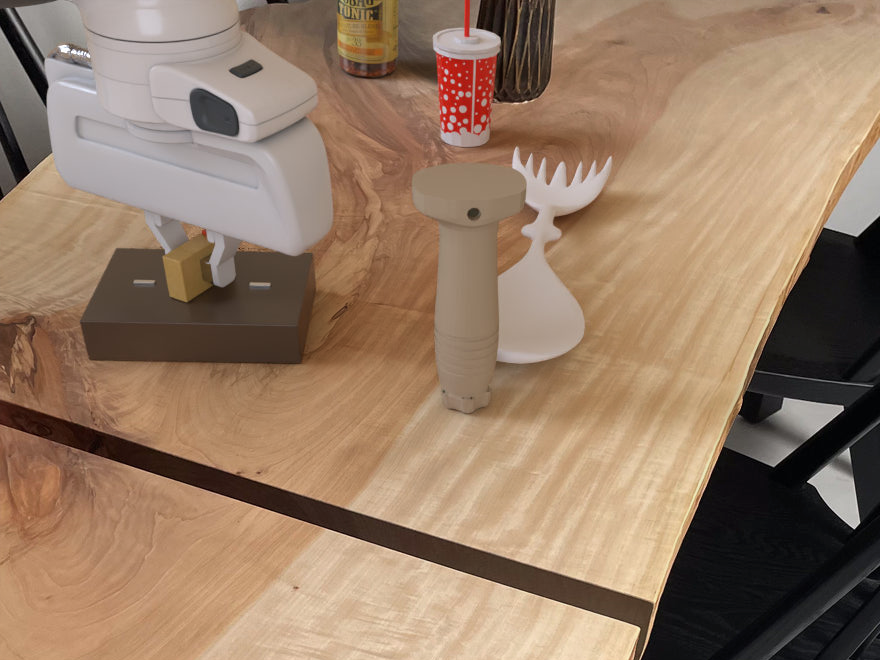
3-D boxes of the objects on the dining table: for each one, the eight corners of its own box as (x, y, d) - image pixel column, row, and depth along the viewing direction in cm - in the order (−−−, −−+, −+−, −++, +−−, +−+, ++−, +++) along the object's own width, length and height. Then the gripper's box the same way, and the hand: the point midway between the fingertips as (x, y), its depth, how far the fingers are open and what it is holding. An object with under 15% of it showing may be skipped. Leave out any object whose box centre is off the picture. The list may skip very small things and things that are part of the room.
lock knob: (187, 302, 73) (179, 258, 71) (169, 296, 74) (161, 252, 72) (234, 271, 77) (228, 228, 74) (217, 266, 77) (210, 223, 75)
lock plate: (88, 360, 73) (78, 318, 71) (123, 284, 81) (115, 245, 78) (301, 363, 74) (297, 323, 72) (316, 289, 81) (313, 250, 79)
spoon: (612, 189, 97) (616, 151, 94) (574, 393, 72) (578, 349, 70) (511, 178, 97) (512, 140, 95) (440, 377, 73) (440, 332, 71)
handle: (412, 382, 73) (408, 164, 63) (509, 378, 74) (519, 162, 64) (418, 425, 69) (415, 201, 59) (519, 420, 70) (532, 198, 60)
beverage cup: (488, 122, 107) (493, -33, 97) (504, 148, 102) (511, -13, 93) (426, 126, 105) (425, -32, 96) (440, 152, 101) (440, -11, 92)
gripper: (1, 50, 67) (53, 255, 76) (275, 121, 60) (296, 338, 69) (77, 23, 71) (118, 221, 80) (340, 87, 65) (352, 295, 74)
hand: (202, 276), depth 75 cm, fingers closed on lock knob, 2 cm apart
